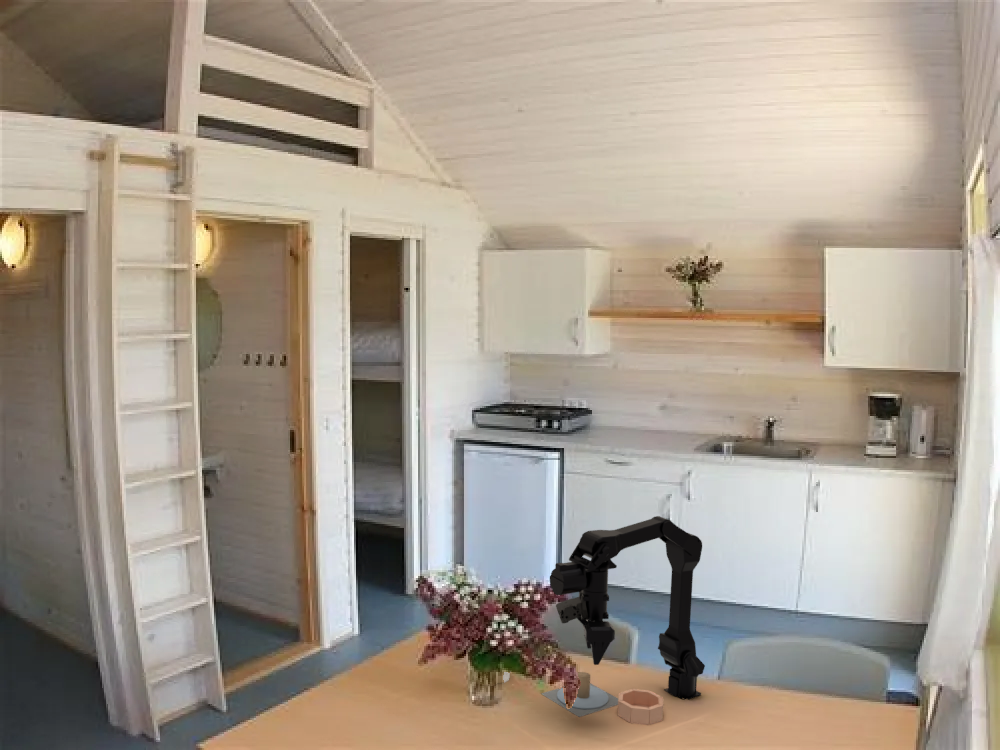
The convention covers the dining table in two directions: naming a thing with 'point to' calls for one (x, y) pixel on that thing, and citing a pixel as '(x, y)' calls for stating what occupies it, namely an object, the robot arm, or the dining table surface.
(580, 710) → the mat
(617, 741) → the dining table surface
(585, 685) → the lid
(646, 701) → the bowl
